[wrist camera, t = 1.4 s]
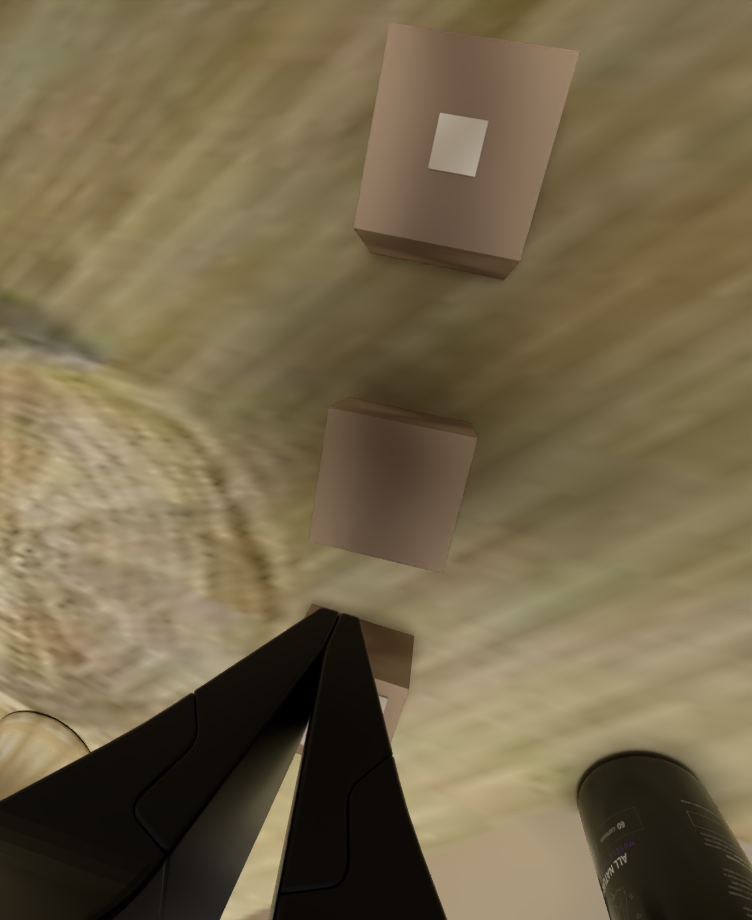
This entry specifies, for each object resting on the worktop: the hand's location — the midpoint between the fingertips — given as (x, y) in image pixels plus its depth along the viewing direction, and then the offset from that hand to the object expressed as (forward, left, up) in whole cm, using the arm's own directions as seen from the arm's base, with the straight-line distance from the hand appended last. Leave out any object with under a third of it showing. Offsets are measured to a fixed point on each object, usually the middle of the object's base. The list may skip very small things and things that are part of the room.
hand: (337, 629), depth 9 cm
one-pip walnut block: (-7, -10, -13) cm, 18 cm away
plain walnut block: (0, 0, -13) cm, 13 cm away
